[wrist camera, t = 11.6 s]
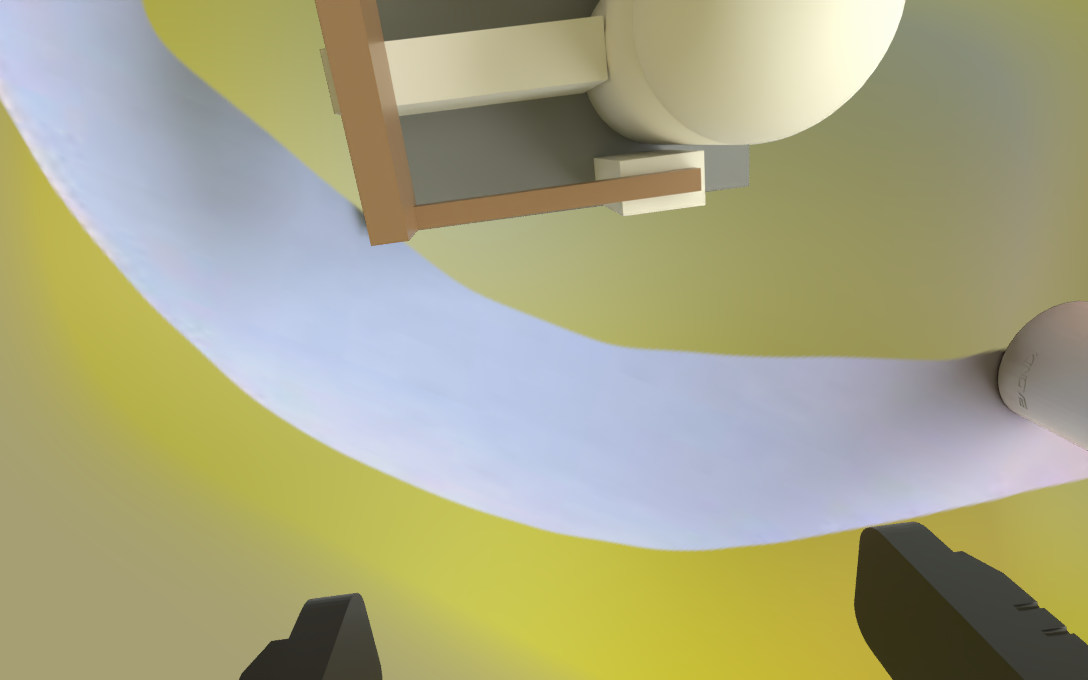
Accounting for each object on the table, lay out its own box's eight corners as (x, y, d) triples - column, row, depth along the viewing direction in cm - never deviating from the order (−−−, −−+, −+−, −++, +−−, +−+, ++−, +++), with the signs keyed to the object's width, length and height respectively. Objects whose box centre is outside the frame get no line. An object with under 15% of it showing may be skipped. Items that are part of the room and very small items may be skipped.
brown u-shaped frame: (682, -146, 22) (721, -205, 19) (694, 189, 27) (727, 196, 23) (315, -105, 22) (278, -157, 18) (388, 231, 26) (371, 246, 22)
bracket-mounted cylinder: (741, -107, 30) (1050, -415, 13) (742, 184, 35) (966, 220, 18) (313, -59, 29) (77, -329, 12) (377, 233, 34) (270, 317, 17)
